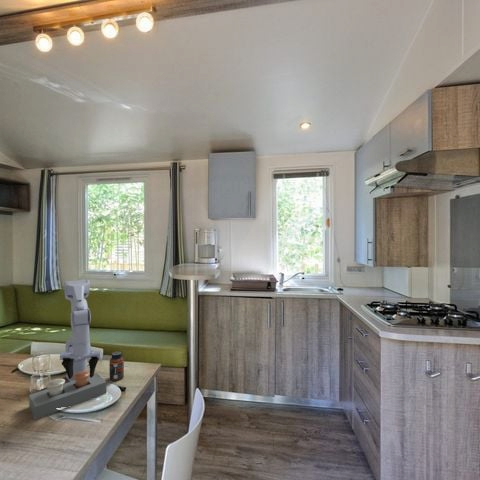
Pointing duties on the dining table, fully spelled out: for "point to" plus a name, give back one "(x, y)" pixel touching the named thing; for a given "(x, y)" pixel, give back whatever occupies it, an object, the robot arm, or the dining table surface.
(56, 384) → the plunger
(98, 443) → the dining table surface
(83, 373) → the terracotta plunger
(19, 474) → the dining table surface
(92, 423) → the dining table surface
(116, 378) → the supplement bottle
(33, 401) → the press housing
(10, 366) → the dining table surface
